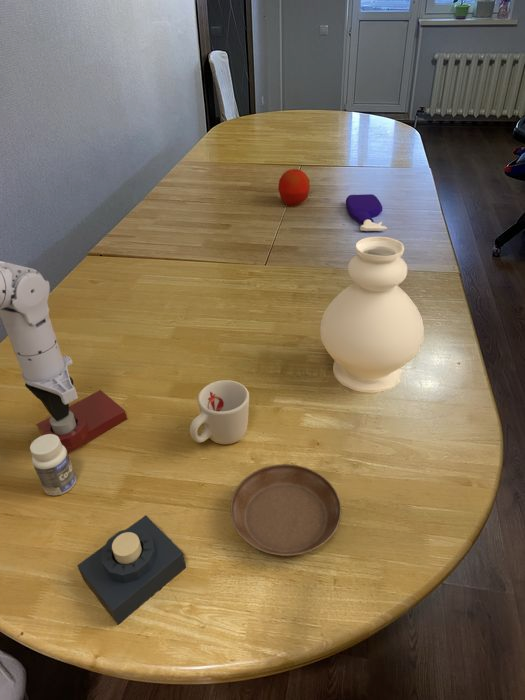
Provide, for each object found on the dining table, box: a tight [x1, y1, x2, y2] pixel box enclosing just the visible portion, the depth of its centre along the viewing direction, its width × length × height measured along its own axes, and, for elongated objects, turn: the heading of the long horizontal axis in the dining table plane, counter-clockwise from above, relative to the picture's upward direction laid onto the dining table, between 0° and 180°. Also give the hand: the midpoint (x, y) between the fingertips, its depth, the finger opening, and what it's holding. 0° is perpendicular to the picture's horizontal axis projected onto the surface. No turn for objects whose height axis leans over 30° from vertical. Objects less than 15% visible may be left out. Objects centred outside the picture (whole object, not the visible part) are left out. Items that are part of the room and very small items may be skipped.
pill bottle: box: [29, 434, 77, 497], centre depth 74 cm, size 5×5×8 cm
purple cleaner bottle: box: [345, 193, 388, 232], centre depth 157 cm, size 3×11×24 cm
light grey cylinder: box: [50, 411, 77, 435], centre depth 81 cm, size 4×4×2 cm
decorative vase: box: [319, 236, 425, 394], centre depth 89 cm, size 18×18×25 cm
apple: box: [277, 168, 311, 207], centre depth 166 cm, size 10×10×12 cm
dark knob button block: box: [76, 514, 187, 626], centre depth 63 cm, size 10×8×5 cm
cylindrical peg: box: [112, 532, 142, 564], centre depth 61 cm, size 3×3×2 cm
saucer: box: [229, 463, 342, 557], centre depth 70 cm, size 15×15×3 cm
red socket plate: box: [35, 389, 128, 455], centre depth 85 cm, size 13×9×4 cm
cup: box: [189, 379, 250, 445], centre depth 81 cm, size 11×8×8 cm
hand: (61, 416), depth 80 cm, fingers closed
